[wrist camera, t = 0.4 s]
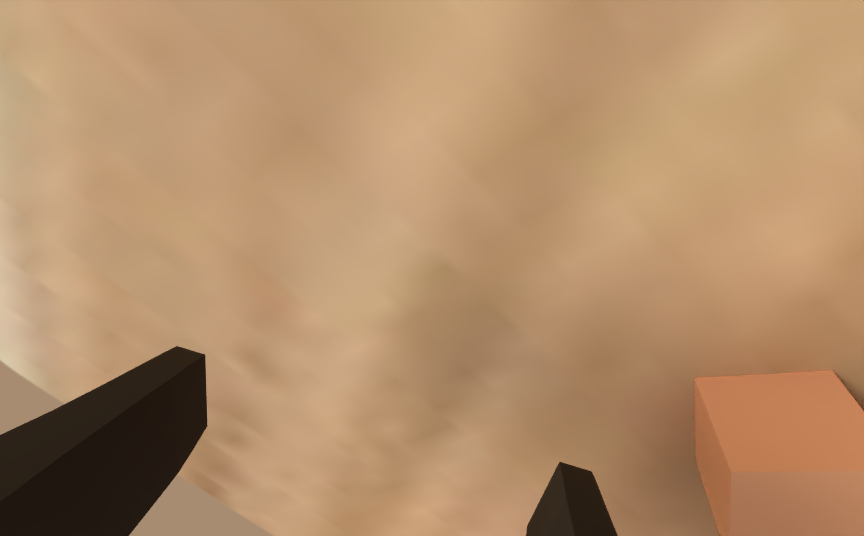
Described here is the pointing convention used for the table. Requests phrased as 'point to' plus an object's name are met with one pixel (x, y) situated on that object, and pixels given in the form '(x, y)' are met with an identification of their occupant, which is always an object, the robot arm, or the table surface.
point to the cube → (781, 454)
